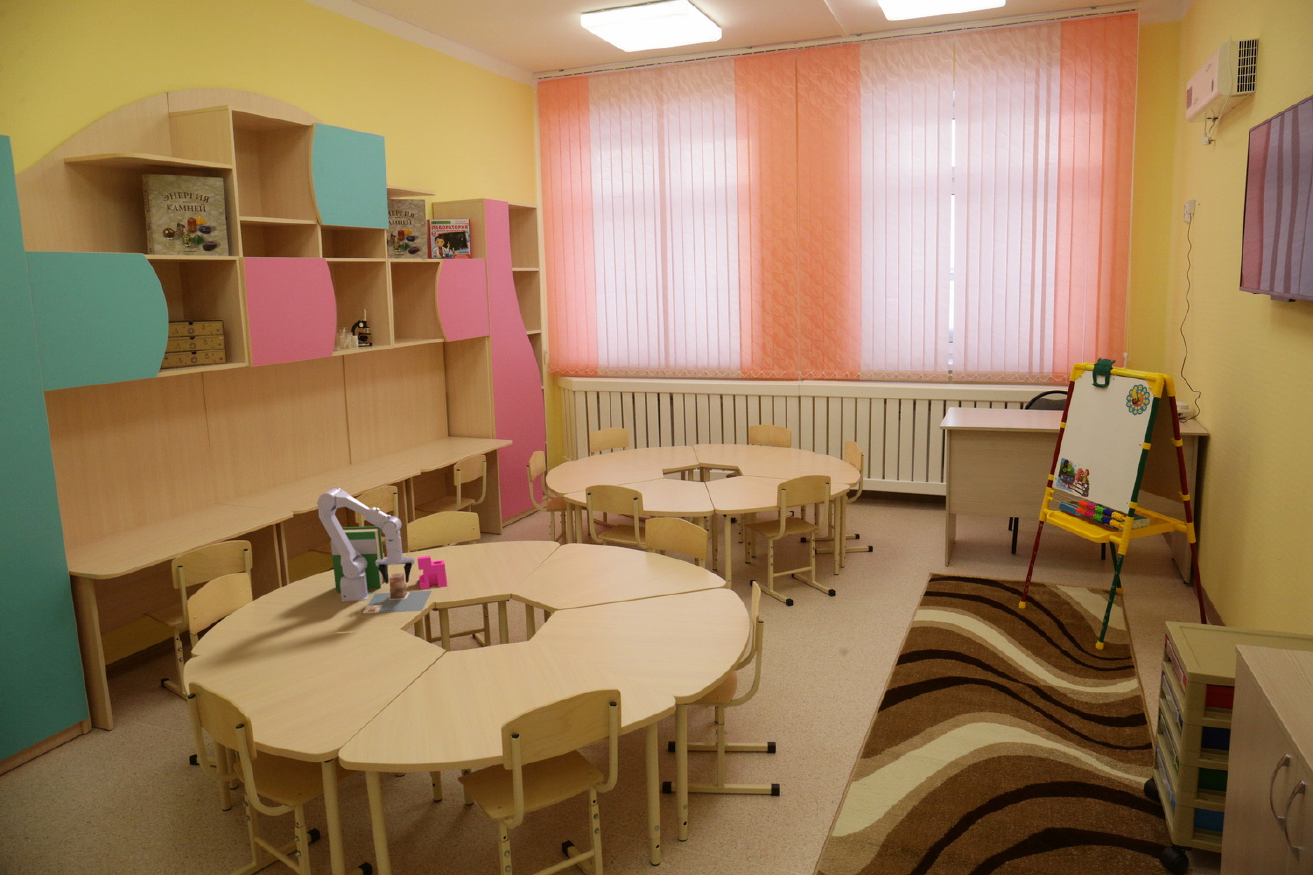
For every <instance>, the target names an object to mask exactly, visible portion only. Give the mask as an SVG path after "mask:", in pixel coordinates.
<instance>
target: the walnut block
mask: <svg viewBox="0 0 1313 875" xmlns="http://www.w3.org/2000/svg"><path fill="white" fill-rule="evenodd" d="M407 592H408V591H407V583H405V585H404V586H403V588H401V589H390V588H389V593H390V597H391V599H398V598H404V597H405V595H406V594H407Z"/></svg>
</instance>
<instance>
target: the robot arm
mask: <svg viewBox="0 0 1313 875" xmlns="http://www.w3.org/2000/svg"><path fill="white" fill-rule="evenodd" d="M316 504H317V507H318V518H319V520H320V522H321V524H322V525H323V527H324V529H325V531H326V532H327V534H328V536H329V539H330V538H331V540H332V541H333V543H334V545H335V547H336V549H337V550H338V552H339V554H340V556H341V566H342V568H343V574H344V575H345V576H343V577H342V578H341V581H340V588H341V591H340V594H341V595H340V596H341V597H340V598H341V602H342V603H344V602H350V601H352V602H353V601H366V600H368V598H369V596H370V595H371V593H372V592H371V591H368V589H367V582H366V573H365V569H366V567H367V561H366V559H365V558H364V557H362V556H361V554H360V553H359V552H358V551H356V550H354V548H353V547H352V545H351V543H350V541H349V539H348V538H347V536H346V534H345V532H344V530H343V529H342V525H341V524H340V521H339V520H338V518H337V516H336V513H337V512H336V511H337V510H338V509H339V508H345V507H346V508H348V509H349V510H352V511H354V512H356V513H358V514H360V515H362V516H364V518H365V521H366V522H368V523H370V524H371V525H374V526H377V527H379V528H380V530H381V533H383V534H384V537H385V538H384V539H385V549H386V558H383V559H380V560H376V566H379V568H378V569H379V571H380V572H381V574H382V575H383V577H384V579H385V582H384V583H385V584H389V583H390V581H389V578H390V577H389V571H388V570H389V569H388V566H395V565H403V569H404V579H405V584H407V583H409V581H410V573H411V571H412V570H411V569H412V567H413V565H415V564H416V559H415V557H406V556H405V557H404V556H403V548H402V547H403V546H402V537H401V530H400V529H401V528H402V525H403V524H402V520H401V519H400V518H399V517H397V516H396V515H390V514H387V513H385V512H383V511H382V510H381V508H379V507H369V506H367V505H366V504H364V503H362V502H360V501H359V500H358V499H356V498H354V497H353V496H352V495H350V494H349V493H348V492H347V491H346V490H343V489H341V488H340V487H337V486H336V487H331V488H330V489H329V490H327V491H326V492H324V493H322V494H320V495H319V497H318V499H317V502H316Z"/></svg>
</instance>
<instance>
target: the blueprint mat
mask: <svg viewBox="0 0 1313 875" xmlns="http://www.w3.org/2000/svg"><path fill="white" fill-rule="evenodd" d="M406 592H407V594H406V595H405V597H404V598H398V599H391V597H390V592H381V593H374V595H372V597H371V599H370V601H369V602H368V603H367V606H365V608H364V610H363V611H362V613H361V614H362V615H366V614H368V615H369V614H384V613H385V614H386V613H402V612H418V611H419V612H420V611H423V609H424V608H425V605H426V604H427V601H428V599H429V598H430V595H431V594H432V590H420V591H418V590H417V591H406Z"/></svg>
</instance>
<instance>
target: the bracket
mask: <svg viewBox="0 0 1313 875" xmlns="http://www.w3.org/2000/svg"><path fill="white" fill-rule="evenodd" d="M417 566H418V570H420V571H422V573H423V574H419V575H418V580H419V587H420V588H419V589H420V591H425V590H430V586H431V585H437V587H438V588H444V587H448V581H447V573H446V564H445V559H440V560H432V557H431V555H423V556H417Z"/></svg>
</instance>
